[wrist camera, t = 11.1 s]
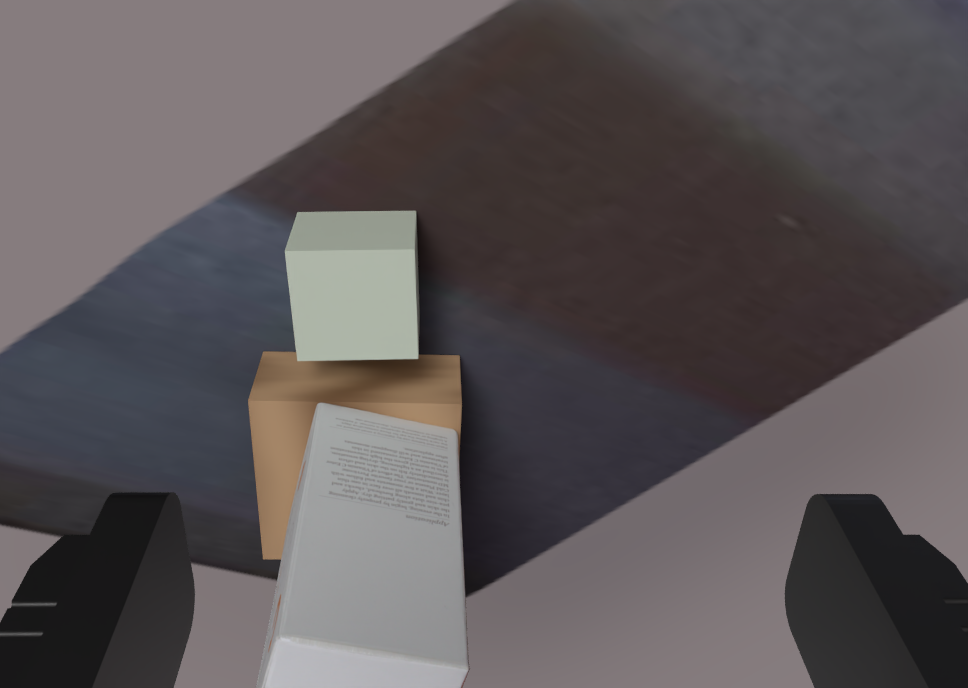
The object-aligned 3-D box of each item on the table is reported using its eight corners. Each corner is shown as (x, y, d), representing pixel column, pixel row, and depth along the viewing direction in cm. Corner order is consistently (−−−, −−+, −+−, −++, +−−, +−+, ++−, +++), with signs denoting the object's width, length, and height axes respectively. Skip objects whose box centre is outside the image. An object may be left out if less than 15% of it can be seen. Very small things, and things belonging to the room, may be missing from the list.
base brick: (459, 355, 43) (461, 404, 39) (453, 504, 47) (454, 560, 44) (263, 351, 42) (248, 400, 39) (275, 503, 47) (263, 559, 43)
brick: (416, 209, 39) (414, 249, 36) (419, 312, 42) (418, 358, 38) (297, 211, 39) (284, 251, 36) (308, 314, 42) (297, 361, 38)
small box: (416, 560, 44) (410, 822, 33) (283, 536, 43) (230, 798, 32) (462, 426, 40) (473, 671, 29) (317, 395, 39) (270, 638, 28)
